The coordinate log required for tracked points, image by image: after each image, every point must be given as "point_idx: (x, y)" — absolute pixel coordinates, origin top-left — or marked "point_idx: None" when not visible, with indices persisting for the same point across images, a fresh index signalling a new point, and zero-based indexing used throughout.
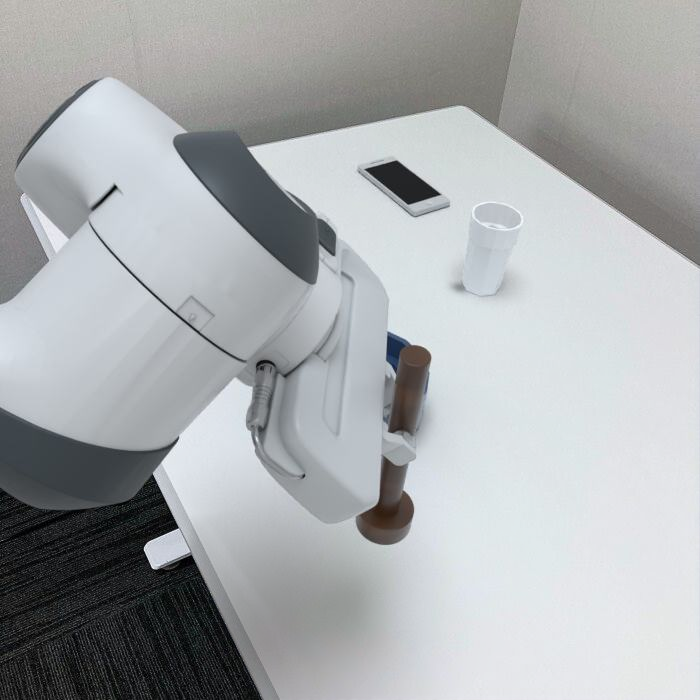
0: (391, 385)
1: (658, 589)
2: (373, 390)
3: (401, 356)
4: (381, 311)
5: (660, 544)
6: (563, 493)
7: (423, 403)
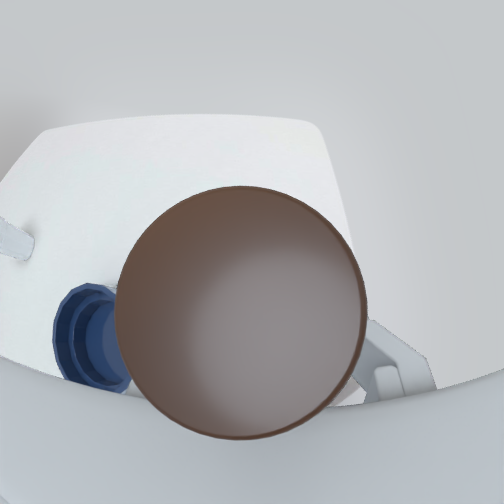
0: None
1: (251, 131)
2: (361, 465)
3: (262, 433)
4: (9, 386)
5: (218, 129)
6: (181, 184)
7: (112, 288)
